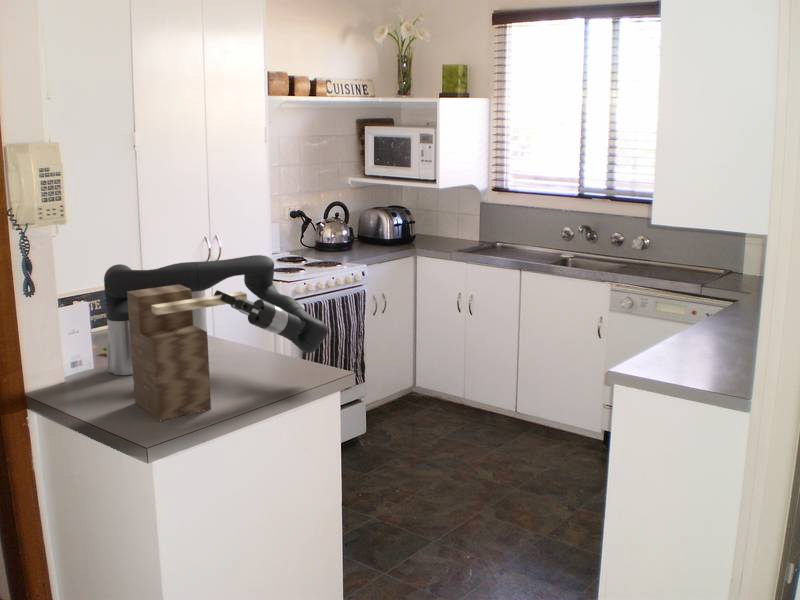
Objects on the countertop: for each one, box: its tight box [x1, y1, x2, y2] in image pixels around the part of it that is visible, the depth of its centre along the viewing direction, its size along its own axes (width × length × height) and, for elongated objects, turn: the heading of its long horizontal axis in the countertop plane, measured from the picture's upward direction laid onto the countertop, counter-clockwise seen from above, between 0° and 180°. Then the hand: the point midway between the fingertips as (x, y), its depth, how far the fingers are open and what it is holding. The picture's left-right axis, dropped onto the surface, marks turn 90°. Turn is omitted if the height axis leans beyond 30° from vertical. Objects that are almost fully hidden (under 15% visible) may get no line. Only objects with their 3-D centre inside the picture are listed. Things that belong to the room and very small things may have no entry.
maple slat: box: [151, 291, 248, 315], centre depth 231 cm, size 26×4×2 cm, turn 127°
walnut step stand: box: [127, 284, 212, 422], centre depth 232 cm, size 15×17×32 cm
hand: (218, 295), depth 234 cm, fingers closed on maple slat, 3 cm apart
